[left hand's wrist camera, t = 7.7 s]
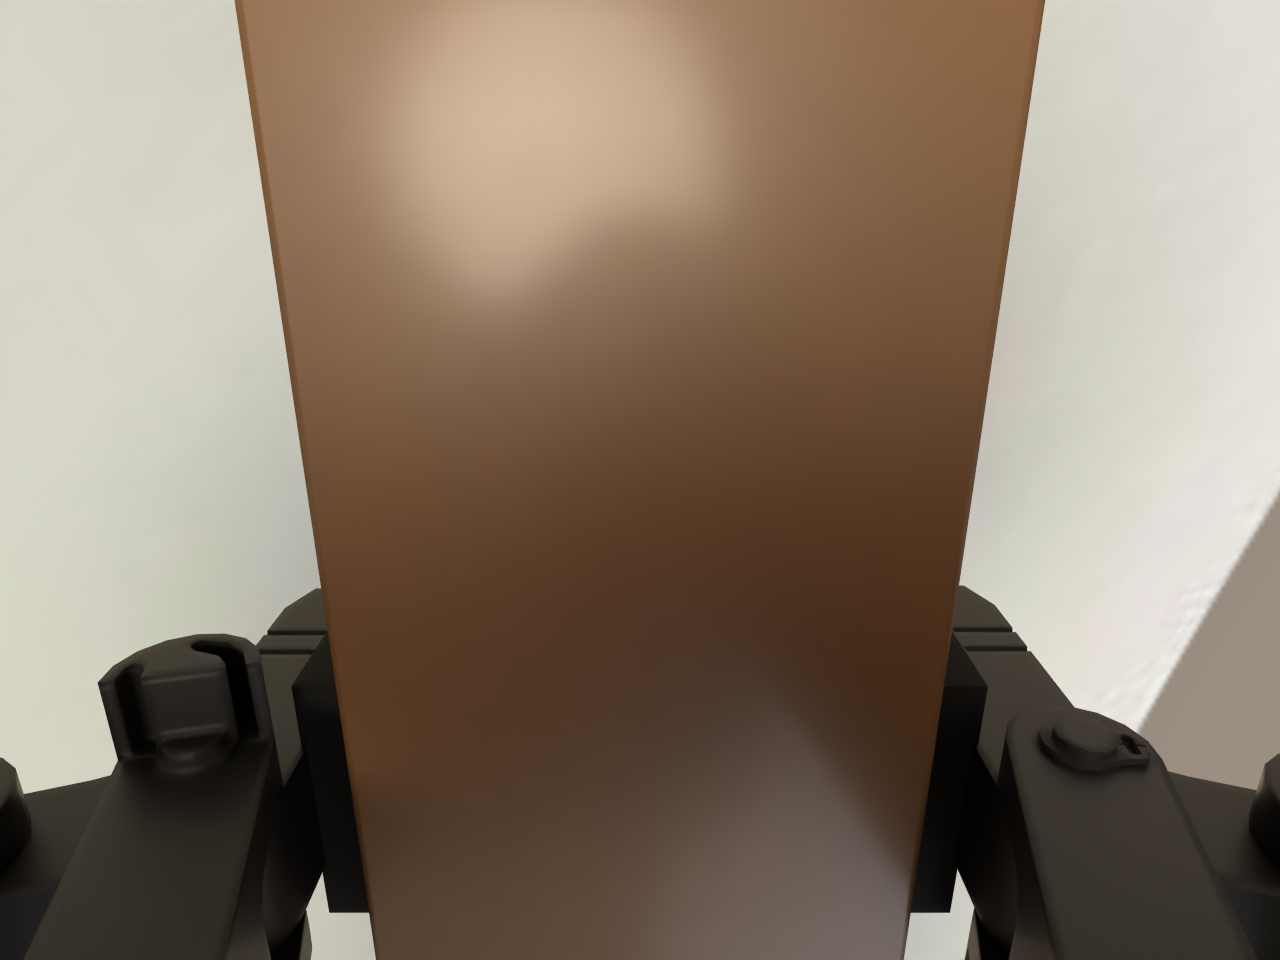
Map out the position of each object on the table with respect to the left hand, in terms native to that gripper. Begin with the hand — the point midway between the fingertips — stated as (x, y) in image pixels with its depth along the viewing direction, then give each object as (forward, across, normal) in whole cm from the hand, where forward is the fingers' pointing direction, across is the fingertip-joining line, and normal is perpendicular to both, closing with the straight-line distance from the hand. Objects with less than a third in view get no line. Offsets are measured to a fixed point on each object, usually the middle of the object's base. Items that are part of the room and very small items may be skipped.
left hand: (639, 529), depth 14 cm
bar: (+1, 0, -12) cm, 12 cm away
